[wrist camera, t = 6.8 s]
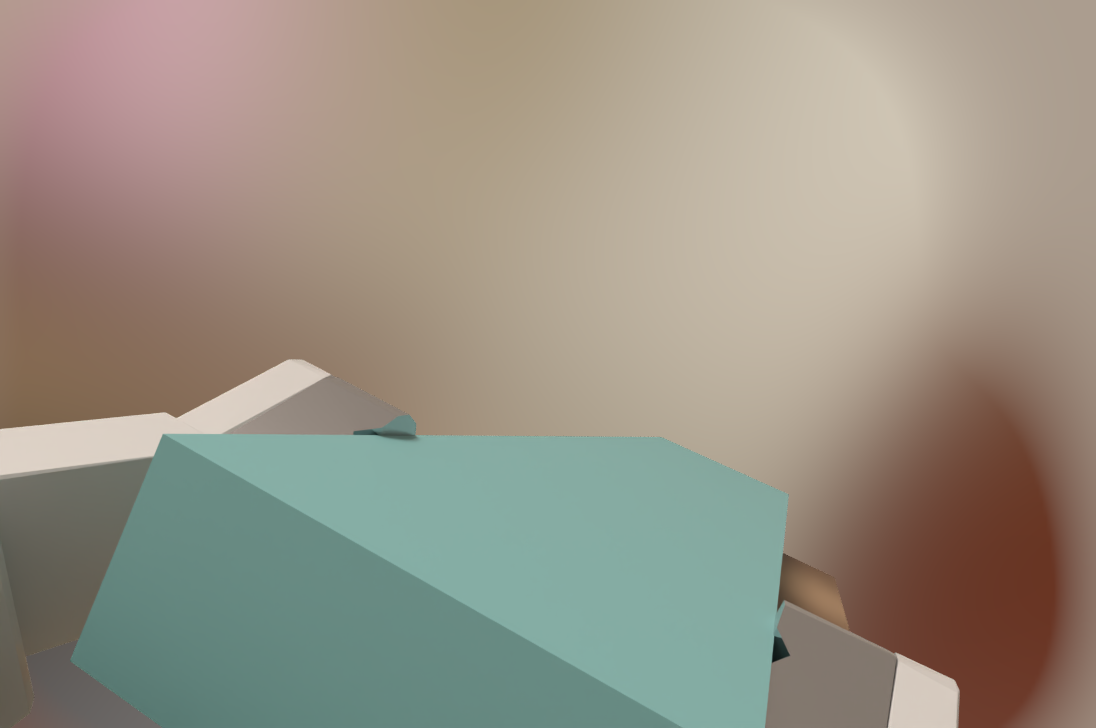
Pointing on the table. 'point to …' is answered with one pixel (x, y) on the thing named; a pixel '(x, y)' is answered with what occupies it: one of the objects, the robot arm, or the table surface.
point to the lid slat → (440, 585)
